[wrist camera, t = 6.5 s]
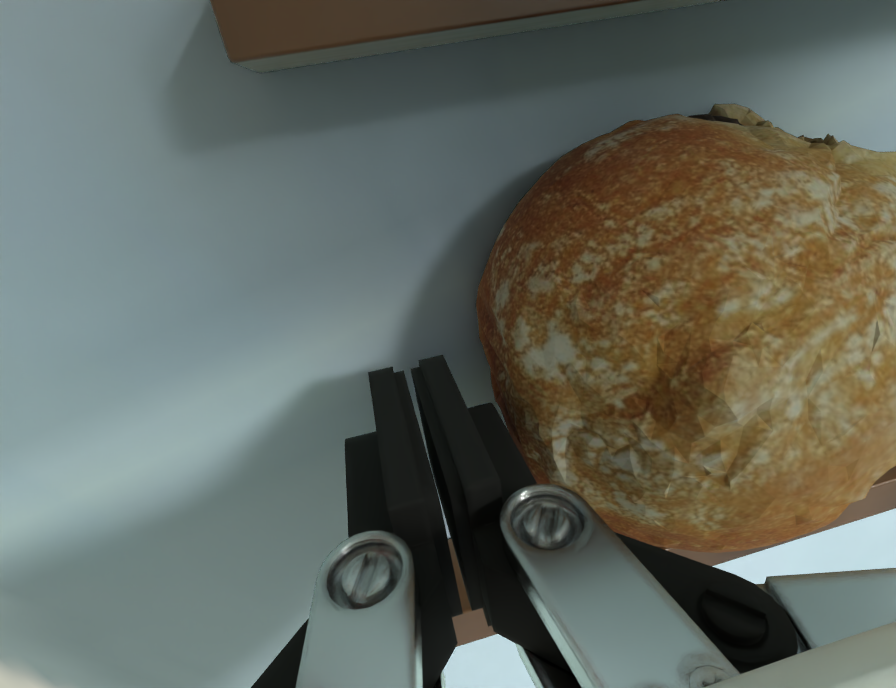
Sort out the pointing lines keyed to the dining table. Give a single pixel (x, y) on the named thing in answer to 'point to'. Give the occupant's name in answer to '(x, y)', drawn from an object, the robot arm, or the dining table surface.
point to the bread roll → (701, 328)
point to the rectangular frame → (423, 25)
